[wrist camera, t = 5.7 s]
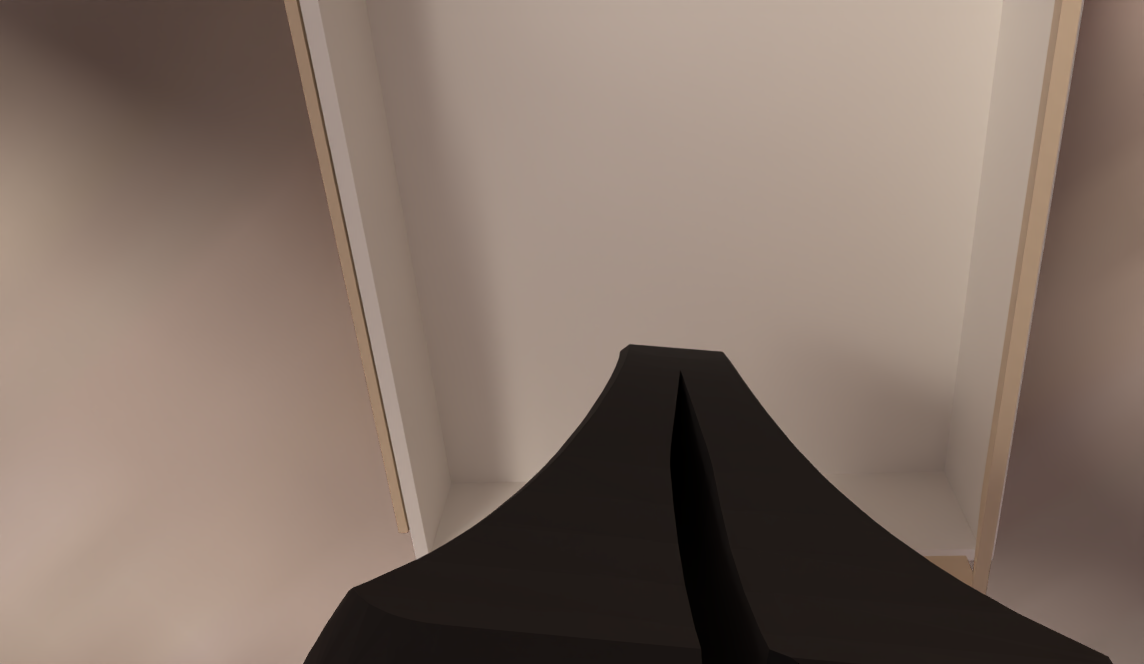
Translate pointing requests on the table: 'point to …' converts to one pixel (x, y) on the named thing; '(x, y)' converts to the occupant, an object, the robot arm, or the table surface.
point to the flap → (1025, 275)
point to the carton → (680, 227)
